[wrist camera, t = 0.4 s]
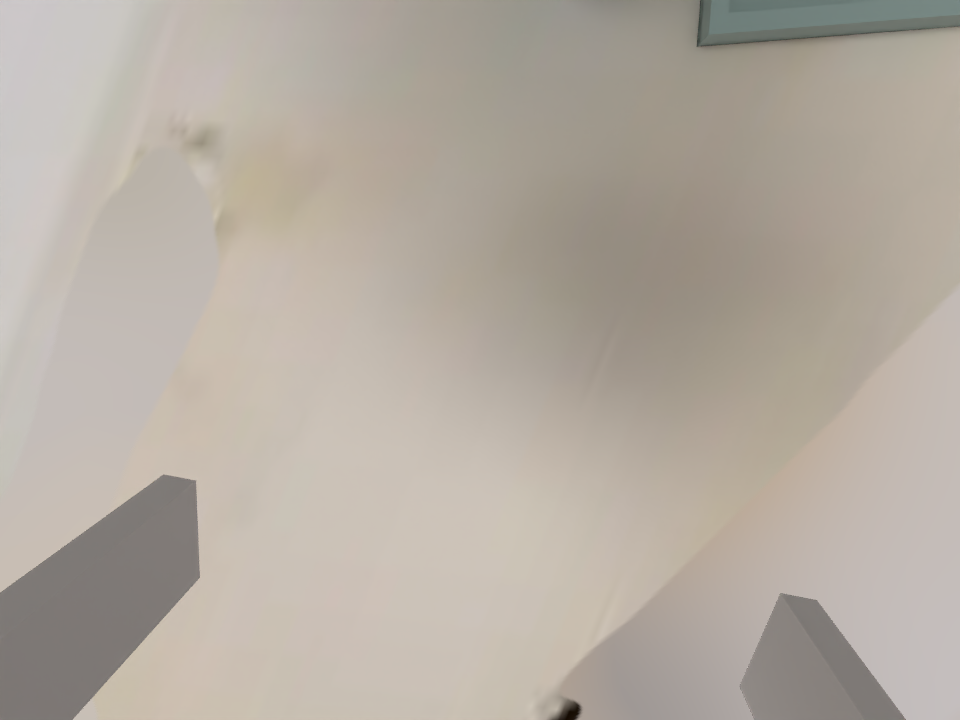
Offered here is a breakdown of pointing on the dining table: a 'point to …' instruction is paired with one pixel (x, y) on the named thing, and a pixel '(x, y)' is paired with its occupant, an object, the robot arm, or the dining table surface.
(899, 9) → the tray
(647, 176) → the dining table surface
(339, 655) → the dining table surface
